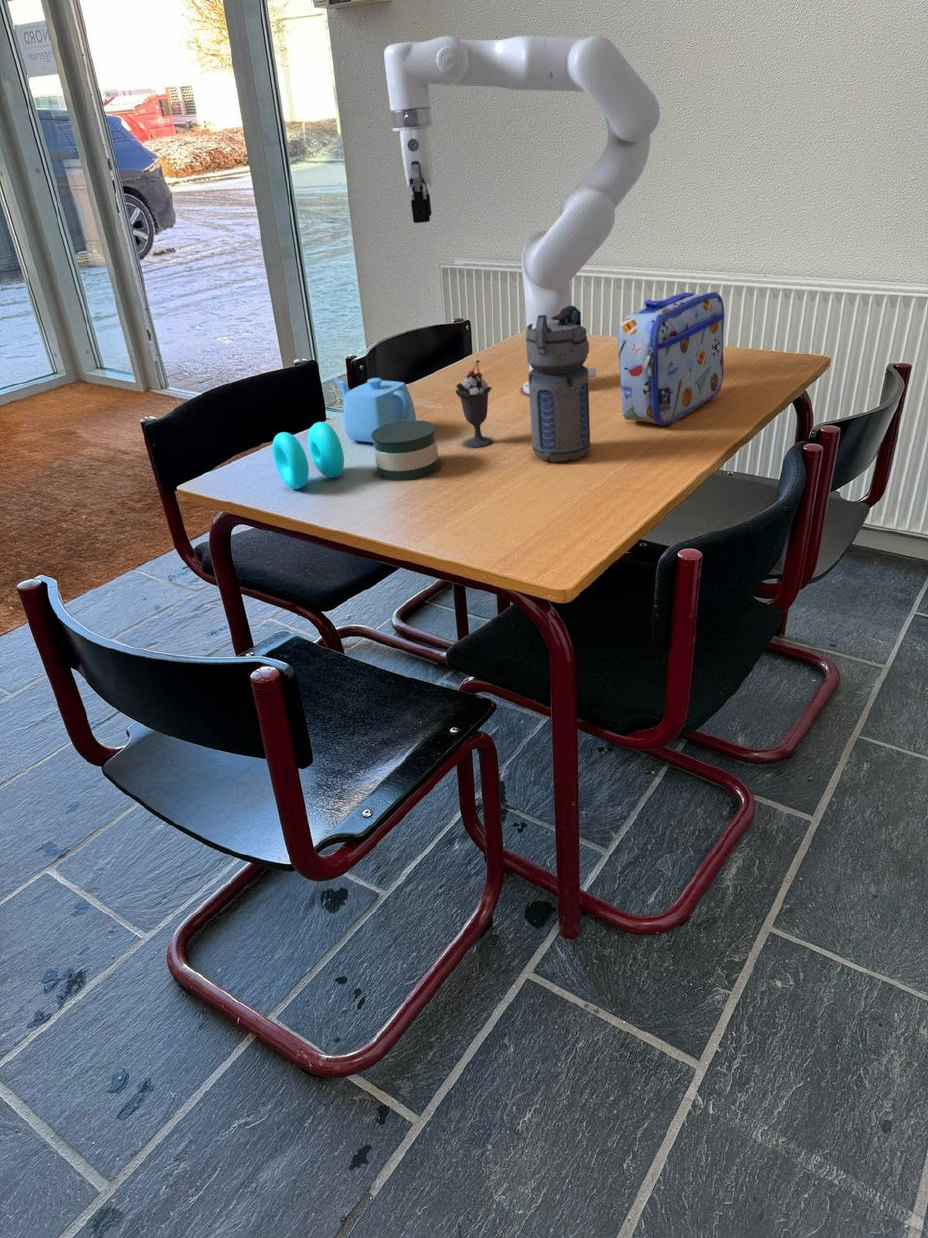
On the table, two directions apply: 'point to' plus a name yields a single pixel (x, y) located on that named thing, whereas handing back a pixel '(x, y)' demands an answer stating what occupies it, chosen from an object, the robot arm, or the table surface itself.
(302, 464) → the donuts
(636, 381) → the lunch box
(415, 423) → the tin
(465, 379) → the sundae
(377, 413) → the teapot
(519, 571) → the table surface
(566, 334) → the beverage bottle
